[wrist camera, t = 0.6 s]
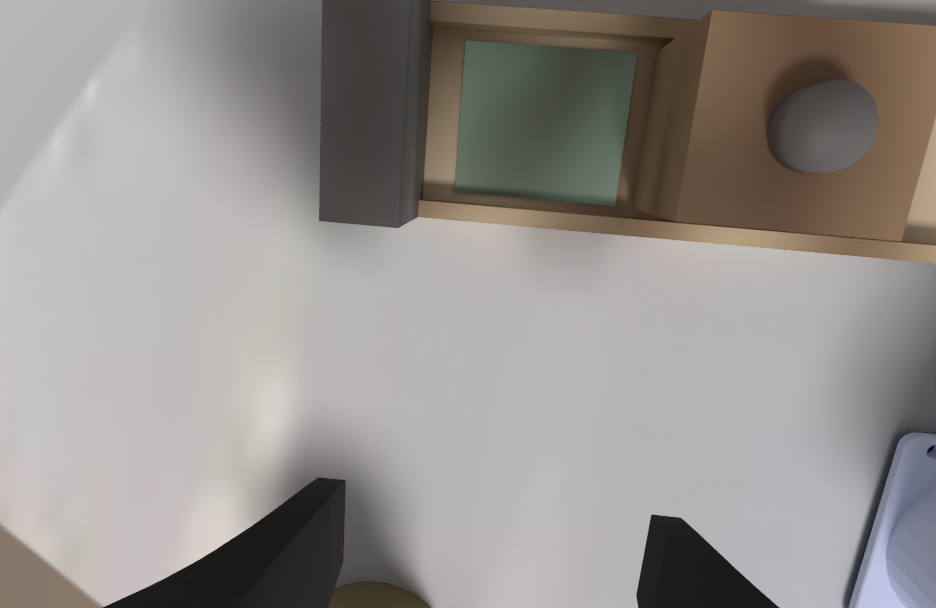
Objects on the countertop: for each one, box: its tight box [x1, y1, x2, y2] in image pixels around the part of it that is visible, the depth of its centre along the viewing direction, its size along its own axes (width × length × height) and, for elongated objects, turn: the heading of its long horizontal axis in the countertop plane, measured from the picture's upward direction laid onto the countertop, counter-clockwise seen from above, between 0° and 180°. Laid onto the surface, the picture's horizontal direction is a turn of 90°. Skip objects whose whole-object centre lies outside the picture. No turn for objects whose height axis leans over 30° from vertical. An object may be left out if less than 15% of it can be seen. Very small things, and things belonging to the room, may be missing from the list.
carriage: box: [633, 10, 936, 241], centre depth 14 cm, size 5×4×5 cm
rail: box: [319, 0, 936, 263], centre depth 15 cm, size 18×6×5 cm, turn 85°
